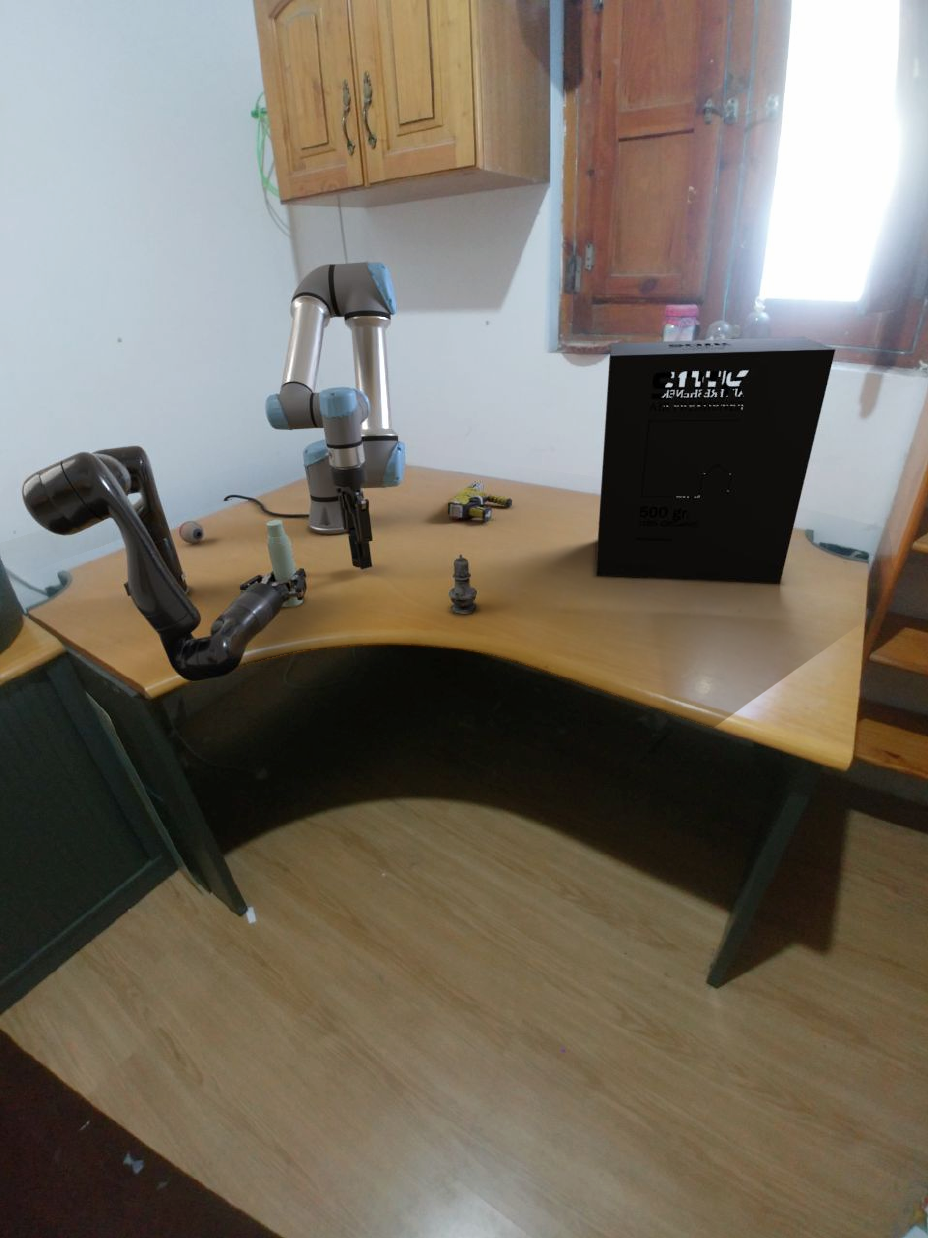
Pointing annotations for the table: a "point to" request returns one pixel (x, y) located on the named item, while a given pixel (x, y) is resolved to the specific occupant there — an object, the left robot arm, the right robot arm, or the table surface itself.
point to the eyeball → (191, 532)
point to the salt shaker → (462, 588)
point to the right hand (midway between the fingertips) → (362, 563)
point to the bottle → (281, 556)
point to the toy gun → (474, 503)
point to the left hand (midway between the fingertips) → (291, 571)
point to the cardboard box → (707, 456)
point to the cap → (355, 560)
